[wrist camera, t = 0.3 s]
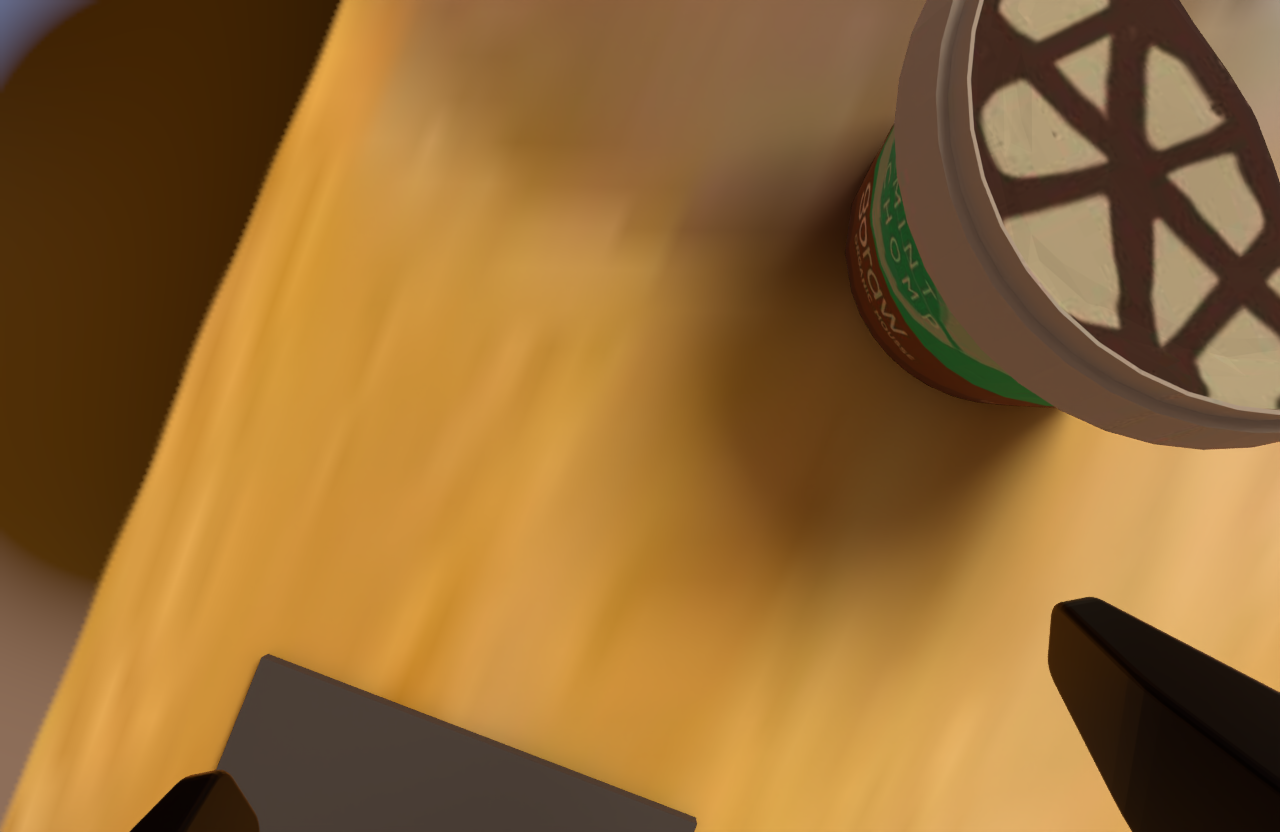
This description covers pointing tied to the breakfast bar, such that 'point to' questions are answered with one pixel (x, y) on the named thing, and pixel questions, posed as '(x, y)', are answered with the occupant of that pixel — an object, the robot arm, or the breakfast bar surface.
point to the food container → (1077, 222)
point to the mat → (404, 769)
